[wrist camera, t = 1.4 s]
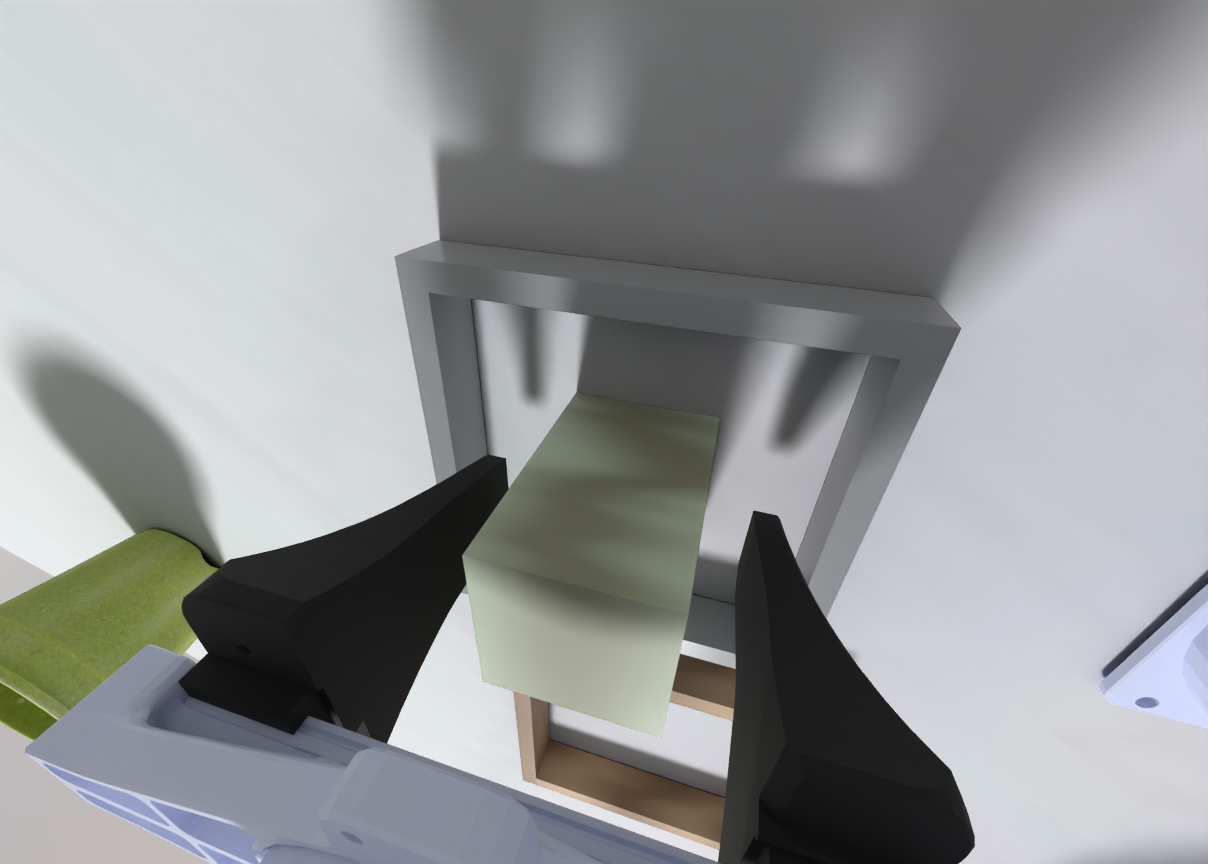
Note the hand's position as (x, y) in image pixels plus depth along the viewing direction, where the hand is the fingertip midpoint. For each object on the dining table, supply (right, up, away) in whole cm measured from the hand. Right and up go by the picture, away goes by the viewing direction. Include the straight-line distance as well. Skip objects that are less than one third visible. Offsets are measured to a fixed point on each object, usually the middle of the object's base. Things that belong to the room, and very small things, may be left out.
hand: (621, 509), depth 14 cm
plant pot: (-25, -6, +15) cm, 30 cm away
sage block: (+1, +1, +2) cm, 2 cm away
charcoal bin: (+1, +1, +2) cm, 2 cm away
